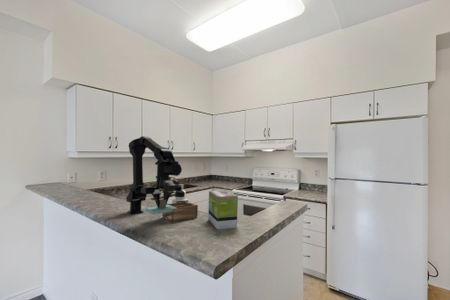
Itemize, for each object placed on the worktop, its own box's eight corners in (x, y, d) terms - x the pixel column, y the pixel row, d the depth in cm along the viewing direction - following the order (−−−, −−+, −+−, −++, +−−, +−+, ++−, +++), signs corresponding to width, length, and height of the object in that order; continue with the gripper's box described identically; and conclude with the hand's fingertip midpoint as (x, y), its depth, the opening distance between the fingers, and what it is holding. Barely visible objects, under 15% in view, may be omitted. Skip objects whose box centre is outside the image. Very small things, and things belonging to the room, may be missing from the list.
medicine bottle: (175, 213, 112) (176, 191, 113) (171, 210, 118) (172, 190, 119) (187, 212, 116) (188, 191, 117) (183, 209, 122) (184, 189, 123)
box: (162, 217, 105) (162, 204, 105) (185, 212, 114) (185, 201, 115) (173, 222, 97) (174, 208, 97) (197, 217, 107) (197, 205, 107)
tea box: (207, 220, 103) (208, 190, 104) (225, 218, 106) (226, 190, 107) (216, 230, 89) (217, 195, 89) (237, 228, 92) (238, 195, 93)
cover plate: (145, 210, 98) (145, 199, 98) (168, 207, 106) (168, 196, 106) (153, 214, 91) (154, 202, 91) (177, 210, 100) (177, 199, 100)
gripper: (152, 176, 87) (150, 213, 86) (188, 175, 100) (187, 207, 99) (141, 174, 95) (139, 208, 94) (176, 173, 108) (175, 203, 107)
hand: (161, 206), depth 99 cm, fingers closed on cover plate, 3 cm apart
